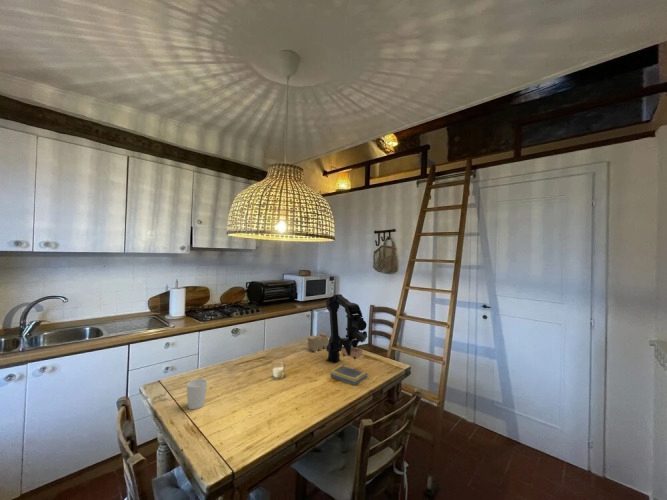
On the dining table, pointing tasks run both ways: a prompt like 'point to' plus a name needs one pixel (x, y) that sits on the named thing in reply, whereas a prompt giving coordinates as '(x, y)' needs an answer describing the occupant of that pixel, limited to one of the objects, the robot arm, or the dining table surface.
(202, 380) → the white cup
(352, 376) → the dock
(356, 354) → the pink panel on base
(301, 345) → the dining table surface
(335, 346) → the robot arm
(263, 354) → the dining table surface
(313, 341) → the toy train
